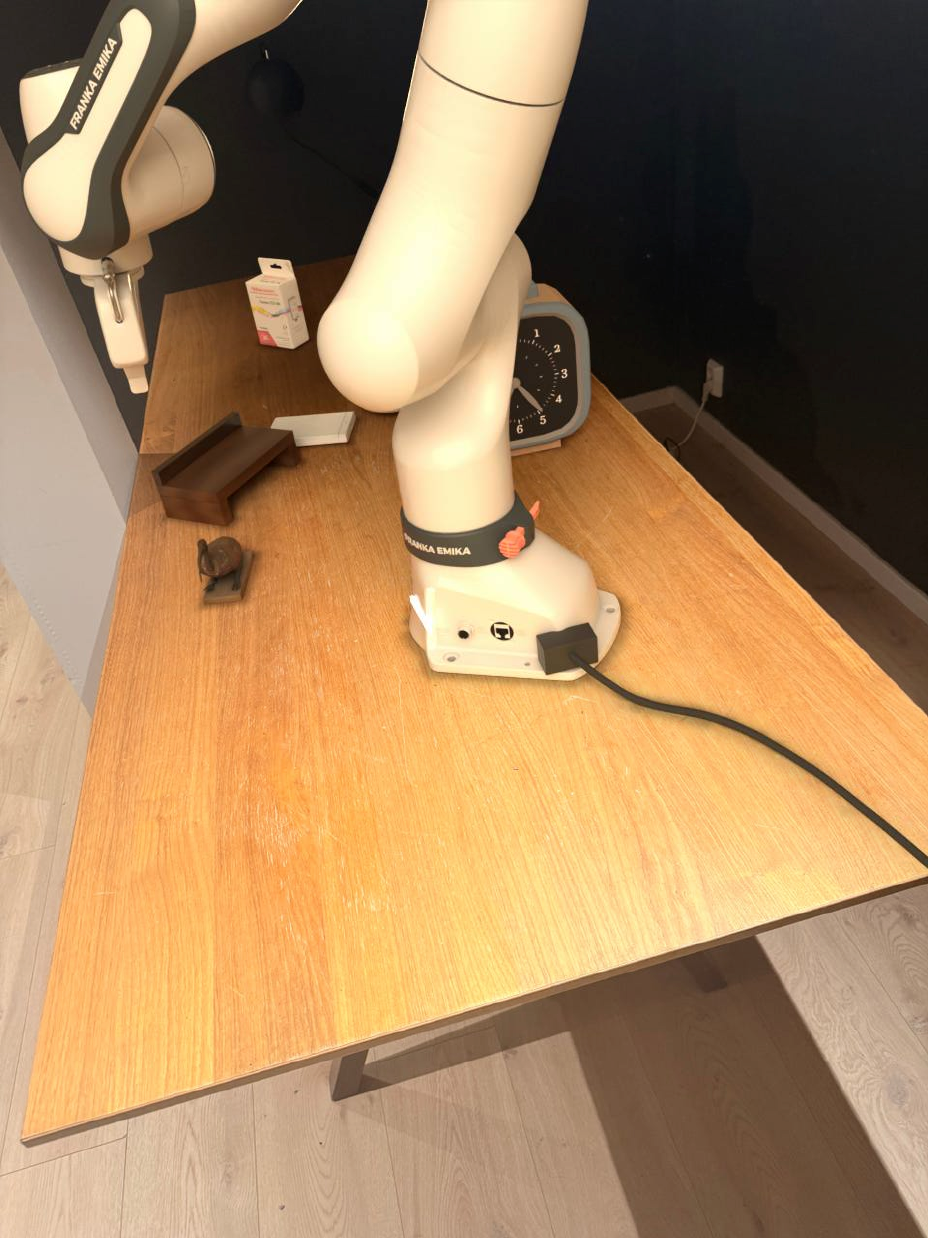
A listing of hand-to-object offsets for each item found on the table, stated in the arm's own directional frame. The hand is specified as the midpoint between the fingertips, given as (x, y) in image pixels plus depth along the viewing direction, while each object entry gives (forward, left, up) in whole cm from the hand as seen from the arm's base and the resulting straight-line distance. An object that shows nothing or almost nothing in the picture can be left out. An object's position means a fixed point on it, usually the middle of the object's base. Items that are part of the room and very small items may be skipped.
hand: (138, 371), depth 105 cm
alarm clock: (-28, -36, -24) cm, 52 cm away
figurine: (-8, +5, -24) cm, 26 cm away
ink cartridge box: (+31, -66, -25) cm, 77 cm away
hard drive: (+4, -33, -25) cm, 41 cm away
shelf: (+6, -16, -24) cm, 29 cm away
